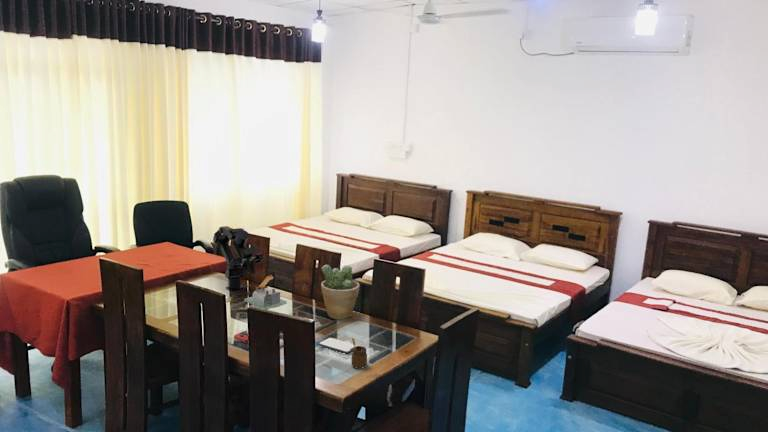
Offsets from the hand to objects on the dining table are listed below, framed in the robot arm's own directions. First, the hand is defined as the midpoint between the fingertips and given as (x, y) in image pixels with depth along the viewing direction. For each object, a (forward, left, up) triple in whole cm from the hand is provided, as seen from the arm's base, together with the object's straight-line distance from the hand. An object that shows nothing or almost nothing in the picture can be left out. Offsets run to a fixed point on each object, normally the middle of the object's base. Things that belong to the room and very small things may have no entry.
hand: (254, 274), depth 292 cm
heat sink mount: (+9, 0, -13) cm, 16 cm away
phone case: (+74, -13, -13) cm, 76 cm away
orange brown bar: (+10, 0, -3) cm, 10 cm away
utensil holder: (+92, -20, -13) cm, 95 cm away
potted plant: (+48, +14, -13) cm, 52 cm away
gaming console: (+40, -26, -13) cm, 49 cm away
